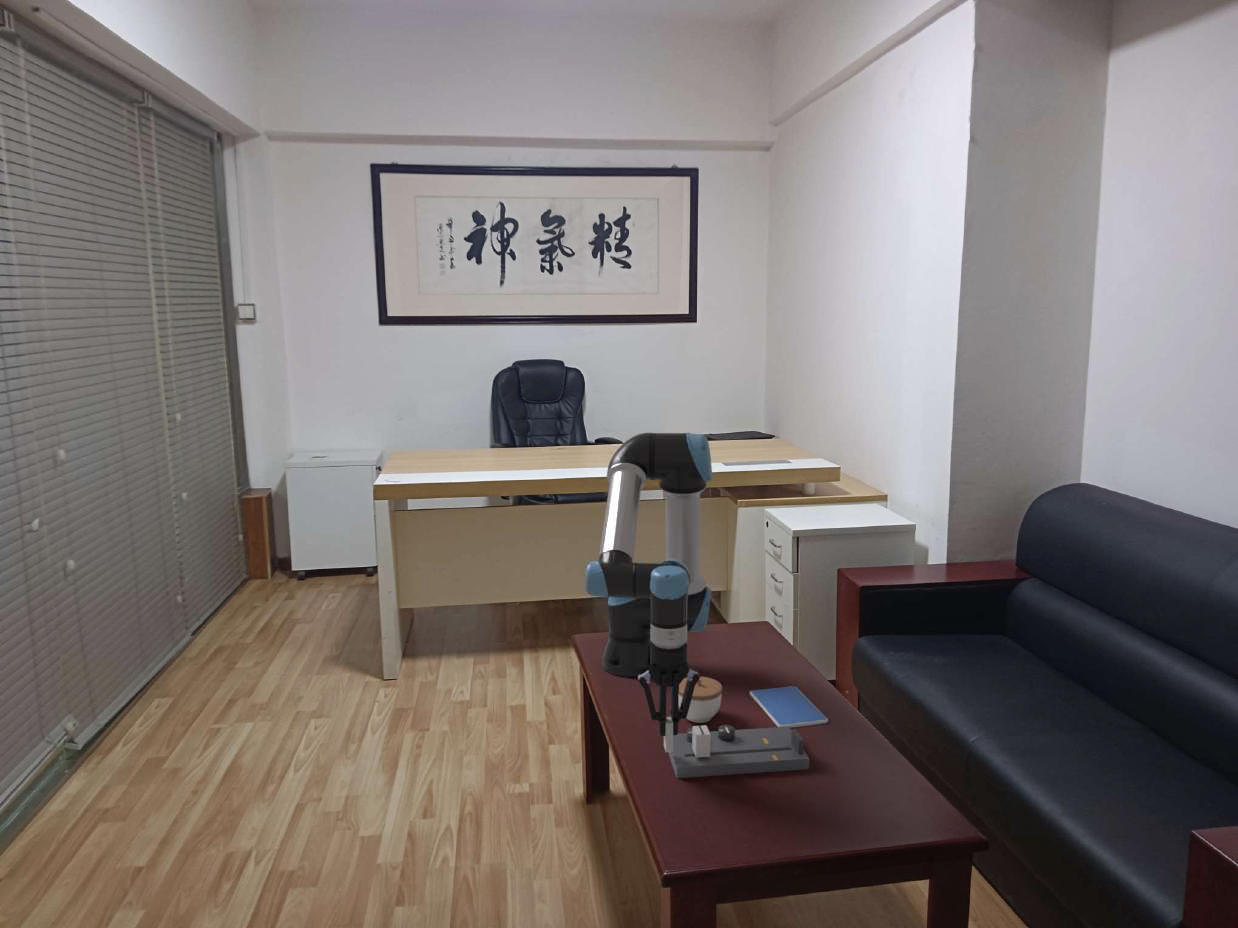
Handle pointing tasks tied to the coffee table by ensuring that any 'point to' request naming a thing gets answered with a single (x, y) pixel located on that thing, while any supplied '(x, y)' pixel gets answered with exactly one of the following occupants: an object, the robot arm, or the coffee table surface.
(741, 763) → the console
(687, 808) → the coffee table surface
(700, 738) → the fader tab
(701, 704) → the lidded jar
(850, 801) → the coffee table surface
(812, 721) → the tablet computer
